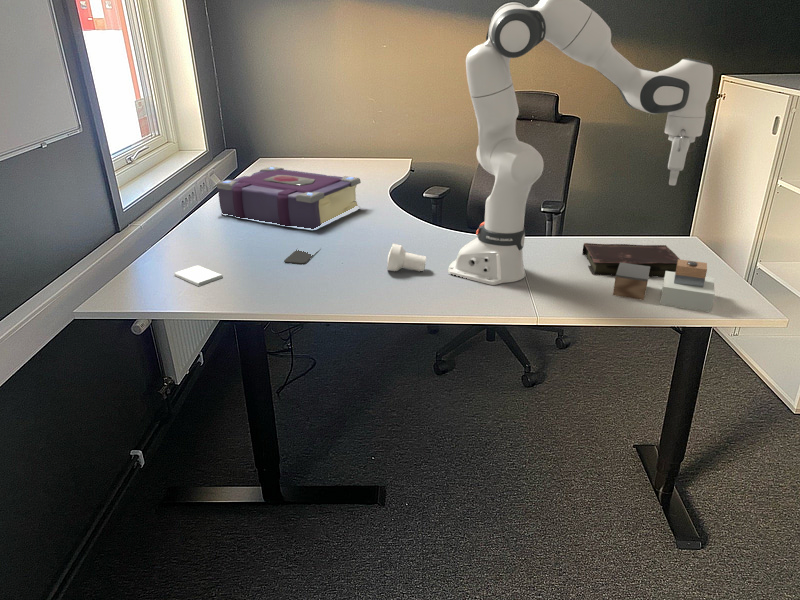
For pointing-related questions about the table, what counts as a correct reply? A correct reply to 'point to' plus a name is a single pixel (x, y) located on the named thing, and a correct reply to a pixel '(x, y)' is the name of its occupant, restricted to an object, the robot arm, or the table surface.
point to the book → (288, 197)
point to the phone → (298, 257)
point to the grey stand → (687, 294)
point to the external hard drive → (198, 275)
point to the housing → (690, 273)
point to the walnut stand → (631, 281)
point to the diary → (629, 258)
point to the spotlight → (404, 259)
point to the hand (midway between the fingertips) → (673, 180)
